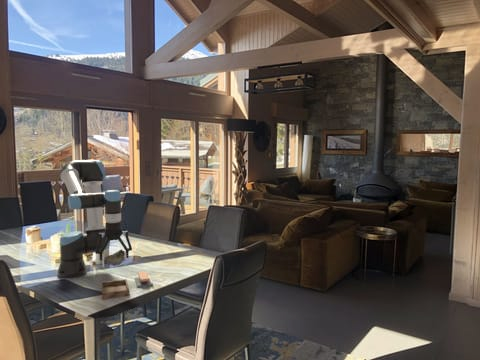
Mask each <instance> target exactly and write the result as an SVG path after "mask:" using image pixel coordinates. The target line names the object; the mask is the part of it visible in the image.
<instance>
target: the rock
mask: <svg viewBox="0 0 480 360" xmlns="http://www.w3.org/2000/svg"><path fill="white" fill-rule="evenodd" d="M124 251H125V250H123V249H122V248H121V249H120V250H117V251H116V252H114V253H113V254H110V255H108V256H106V257H105V256H104V264H106V265H108V266H109V265H110V266H111V265H112V266H114V267H116V266H120V265H121V264H122V263H123V262H124Z"/></svg>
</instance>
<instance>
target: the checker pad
mask: <svg viewBox="0 0 480 360" xmlns="http://www.w3.org/2000/svg"><path fill="white" fill-rule="evenodd" d="M137 275H138V278H140V281H141V282H142V281H149V277H148V275H149V274H148V272H147V271H140V272H139V271H138V272H137Z"/></svg>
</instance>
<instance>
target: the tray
mask: <svg viewBox="0 0 480 360" xmlns="http://www.w3.org/2000/svg"><path fill="white" fill-rule="evenodd" d="M100 284H101V285H100V286H101V299H102V300H108V299H115V297H116V298H121V297H120V296H123V297H128V295H130V288H129V284H128V280H127V278H125V279H117V280H109V281H101V282H100Z"/></svg>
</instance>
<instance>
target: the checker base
mask: <svg viewBox="0 0 480 360" xmlns="http://www.w3.org/2000/svg"><path fill="white" fill-rule="evenodd" d="M148 277H149V281H142V282H141V281H140V278H139V277H134V281H135V286H136V288H137V289H139V287H140V288H146V287H147V286H148V287H154V283H153V280H152V278H151V276H150V274H148Z"/></svg>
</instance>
